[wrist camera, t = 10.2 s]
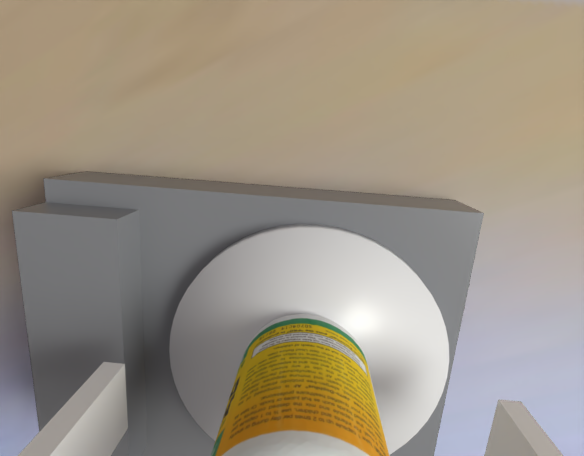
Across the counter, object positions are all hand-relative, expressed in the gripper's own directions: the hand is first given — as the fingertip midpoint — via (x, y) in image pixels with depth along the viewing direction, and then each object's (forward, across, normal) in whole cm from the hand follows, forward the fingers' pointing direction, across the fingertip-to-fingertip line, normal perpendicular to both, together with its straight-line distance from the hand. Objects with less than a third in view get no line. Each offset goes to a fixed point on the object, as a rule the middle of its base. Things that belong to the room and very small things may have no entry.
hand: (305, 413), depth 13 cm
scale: (+7, -2, 0) cm, 7 cm away
